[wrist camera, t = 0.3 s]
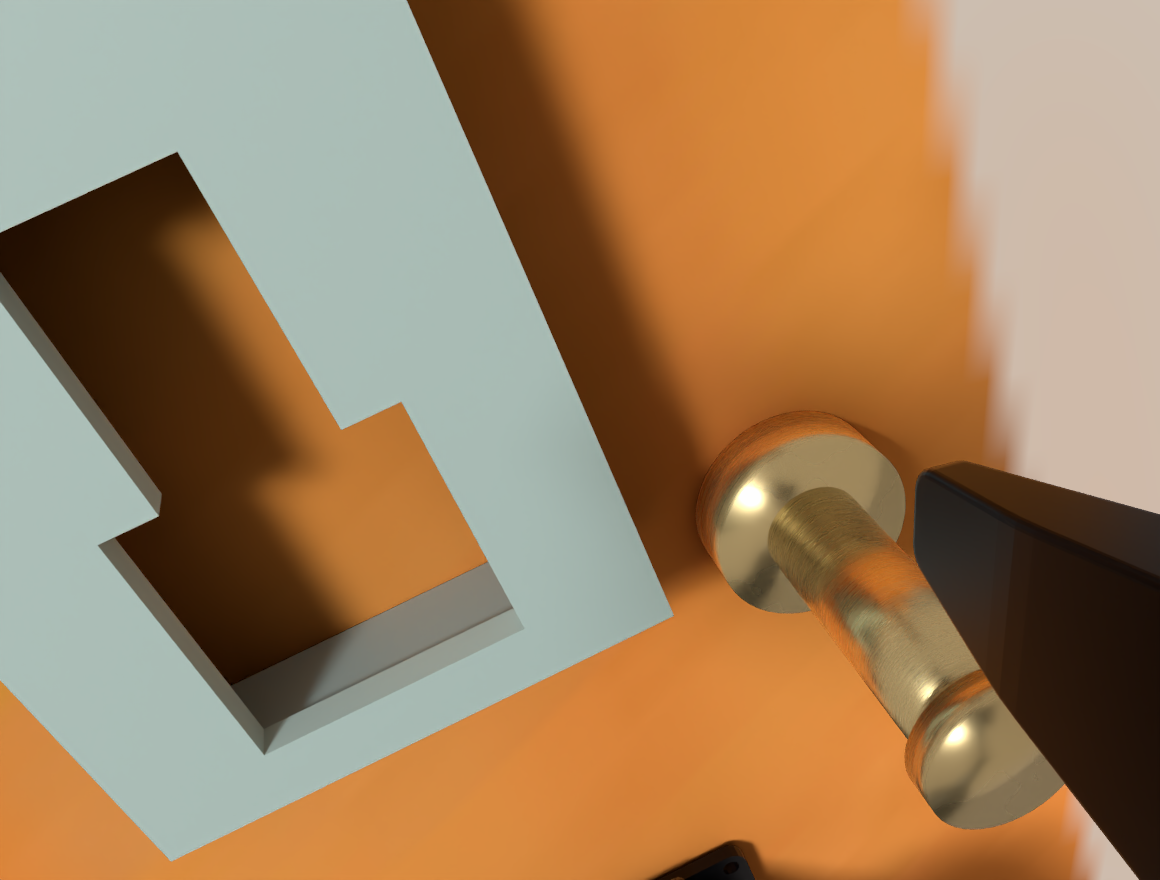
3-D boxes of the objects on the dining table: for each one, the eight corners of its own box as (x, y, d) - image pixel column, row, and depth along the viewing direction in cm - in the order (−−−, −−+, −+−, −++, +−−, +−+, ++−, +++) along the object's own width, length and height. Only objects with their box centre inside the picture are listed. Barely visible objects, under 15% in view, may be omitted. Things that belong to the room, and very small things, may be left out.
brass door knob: (889, 526, 29) (1139, 785, 21) (726, 605, 28) (915, 899, 20) (850, 378, 26) (1116, 608, 18) (671, 465, 26) (861, 736, 18)
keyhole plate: (630, 538, 27) (674, 616, 24) (179, 756, 26) (171, 861, 23) (321, -163, 18) (334, -166, 15) (-354, 137, 18) (-463, 189, 15)
